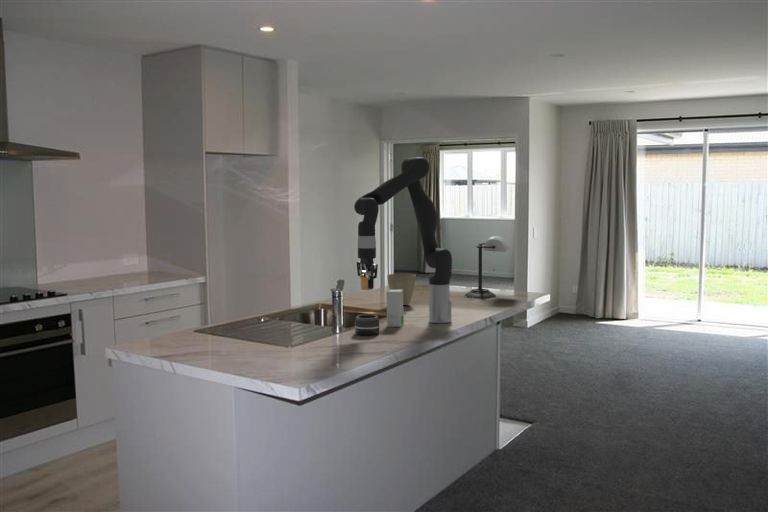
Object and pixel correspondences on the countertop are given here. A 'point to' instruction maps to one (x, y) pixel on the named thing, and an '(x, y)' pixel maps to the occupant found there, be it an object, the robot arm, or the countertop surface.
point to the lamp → (490, 245)
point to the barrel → (367, 325)
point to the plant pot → (402, 285)
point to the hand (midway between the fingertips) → (367, 287)
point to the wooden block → (364, 283)
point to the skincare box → (395, 308)
